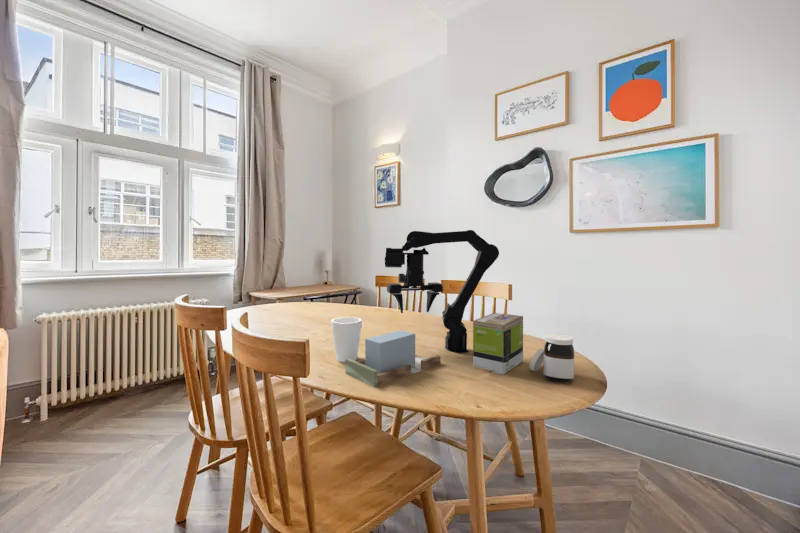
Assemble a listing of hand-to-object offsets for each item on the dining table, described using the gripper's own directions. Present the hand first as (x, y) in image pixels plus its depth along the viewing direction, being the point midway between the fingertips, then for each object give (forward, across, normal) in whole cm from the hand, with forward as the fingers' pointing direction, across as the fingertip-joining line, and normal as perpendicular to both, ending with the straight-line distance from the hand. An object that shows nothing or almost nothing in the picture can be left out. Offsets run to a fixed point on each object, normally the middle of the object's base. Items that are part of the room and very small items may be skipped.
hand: (414, 312), depth 123 cm
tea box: (+13, -21, +20) cm, 32 cm away
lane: (+13, +11, +18) cm, 25 cm away
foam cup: (+13, +24, +7) cm, 28 cm away
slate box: (+12, +12, +20) cm, 26 cm away
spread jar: (+13, -31, +32) cm, 46 cm away
